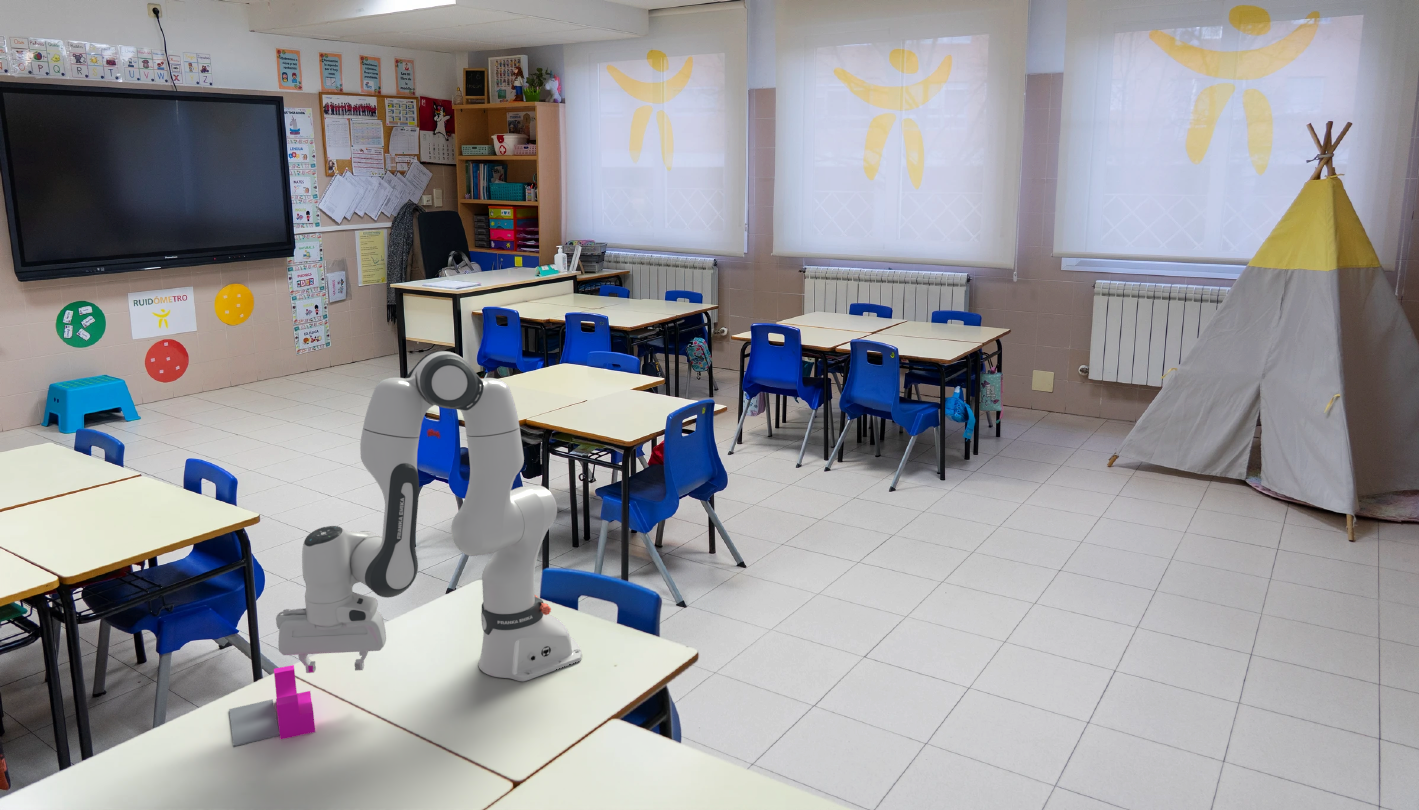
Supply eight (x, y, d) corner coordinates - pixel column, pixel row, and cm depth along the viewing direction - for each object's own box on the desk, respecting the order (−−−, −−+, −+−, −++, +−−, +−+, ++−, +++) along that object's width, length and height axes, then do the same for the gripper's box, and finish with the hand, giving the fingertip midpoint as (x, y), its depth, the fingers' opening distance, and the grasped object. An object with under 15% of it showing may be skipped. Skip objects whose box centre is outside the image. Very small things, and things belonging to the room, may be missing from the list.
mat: (272, 700, 199) (272, 699, 199) (279, 735, 187) (279, 734, 187) (229, 710, 195) (229, 709, 195) (233, 746, 183) (233, 745, 183)
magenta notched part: (315, 733, 188) (312, 698, 186) (280, 740, 186) (276, 705, 184) (310, 695, 201) (307, 662, 200) (277, 701, 199) (273, 668, 197)
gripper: (270, 617, 189) (276, 681, 192) (379, 612, 192) (384, 675, 195) (279, 602, 195) (286, 665, 198) (385, 598, 198) (389, 659, 201)
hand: (335, 670), depth 197 cm, fingers open, 8 cm apart
